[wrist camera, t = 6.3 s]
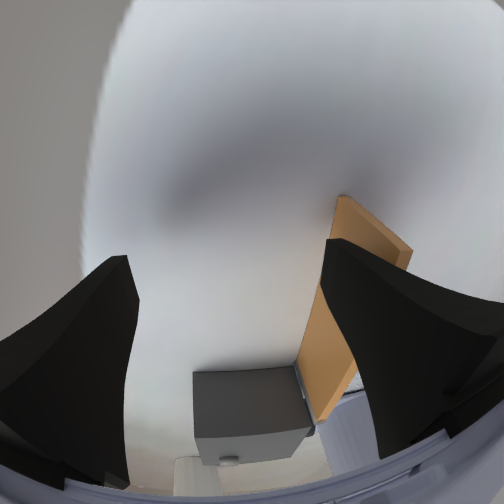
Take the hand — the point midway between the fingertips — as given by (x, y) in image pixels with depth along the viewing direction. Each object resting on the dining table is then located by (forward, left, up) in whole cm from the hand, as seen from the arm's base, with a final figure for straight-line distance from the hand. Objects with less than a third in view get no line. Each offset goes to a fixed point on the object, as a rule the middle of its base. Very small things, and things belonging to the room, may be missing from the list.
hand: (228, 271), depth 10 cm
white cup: (+4, +34, -3) cm, 35 cm away
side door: (-5, +4, -3) cm, 7 cm away
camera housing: (-2, +14, -3) cm, 14 cm away
